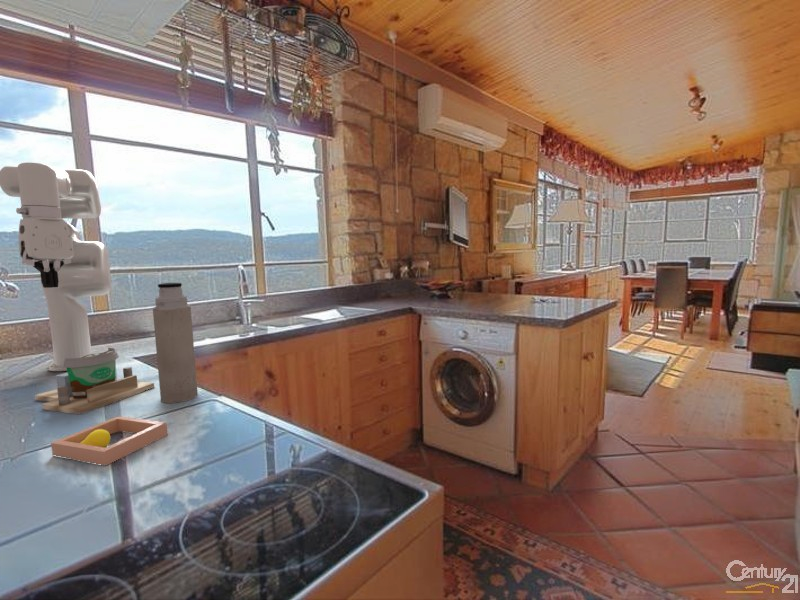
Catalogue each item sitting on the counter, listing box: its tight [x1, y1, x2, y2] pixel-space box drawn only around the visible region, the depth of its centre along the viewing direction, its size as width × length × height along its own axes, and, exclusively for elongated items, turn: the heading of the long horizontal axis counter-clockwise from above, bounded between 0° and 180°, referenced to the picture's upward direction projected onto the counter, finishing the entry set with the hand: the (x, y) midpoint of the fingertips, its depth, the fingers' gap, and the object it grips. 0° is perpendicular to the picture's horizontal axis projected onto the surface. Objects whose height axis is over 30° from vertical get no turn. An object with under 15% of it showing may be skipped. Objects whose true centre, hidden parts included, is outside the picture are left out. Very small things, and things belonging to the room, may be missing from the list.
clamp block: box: [55, 372, 73, 396], centre depth 105 cm, size 3×10×5 cm, turn 162°
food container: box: [63, 347, 119, 399], centre depth 103 cm, size 12×6×10 cm, turn 167°
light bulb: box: [80, 429, 112, 448], centre depth 75 cm, size 3×6×4 cm, turn 129°
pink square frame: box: [50, 415, 169, 466], centre depth 77 cm, size 12×12×2 cm
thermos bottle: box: [152, 282, 199, 404], centre depth 101 cm, size 8×8×28 cm
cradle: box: [34, 366, 155, 415], centre depth 104 cm, size 21×19×5 cm
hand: (50, 287), depth 107 cm, fingers closed
